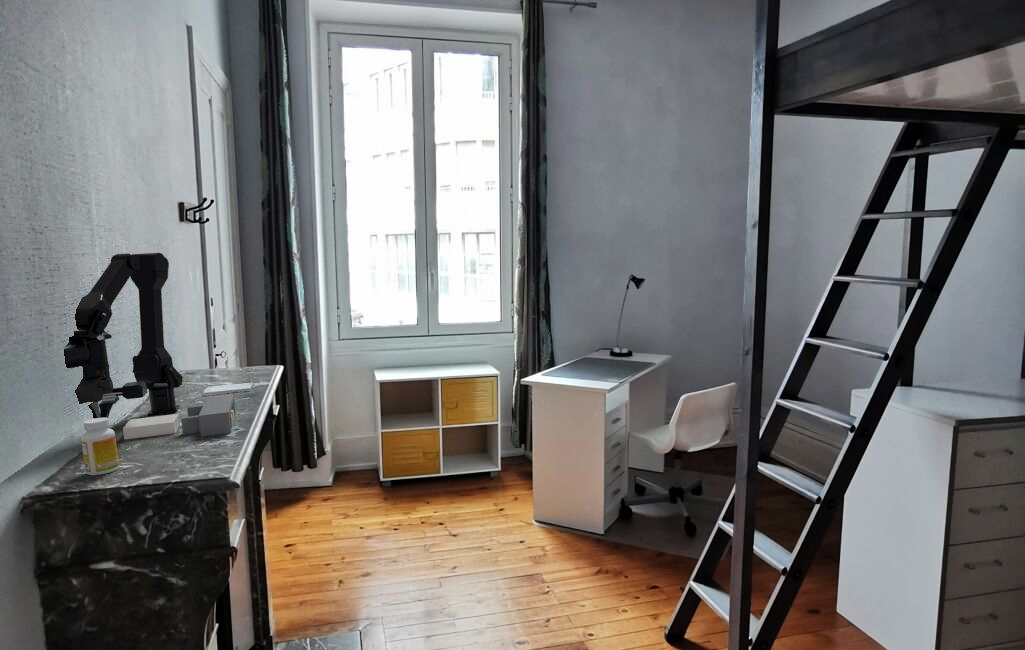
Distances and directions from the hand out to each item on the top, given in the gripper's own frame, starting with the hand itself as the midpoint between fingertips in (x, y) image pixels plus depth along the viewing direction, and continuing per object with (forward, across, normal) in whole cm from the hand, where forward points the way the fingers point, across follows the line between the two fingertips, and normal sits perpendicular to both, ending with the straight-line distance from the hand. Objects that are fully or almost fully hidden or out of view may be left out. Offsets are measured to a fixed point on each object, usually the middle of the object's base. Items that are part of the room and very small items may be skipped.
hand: (102, 432), depth 150 cm
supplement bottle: (+1, +5, -26) cm, 27 cm away
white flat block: (+1, +10, 0) cm, 10 cm away
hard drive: (+2, +24, +38) cm, 45 cm away
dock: (+1, +22, 0) cm, 22 cm away
